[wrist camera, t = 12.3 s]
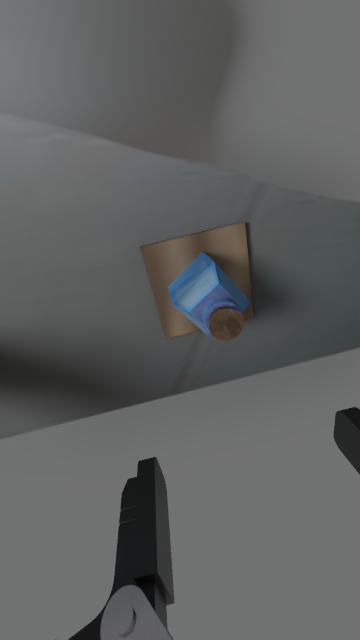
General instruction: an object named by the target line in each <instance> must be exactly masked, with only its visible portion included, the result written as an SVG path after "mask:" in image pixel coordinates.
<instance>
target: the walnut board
mask: <svg viewBox="0 0 360 640" xmlns="http://www.w3.org/2000/svg"><path fill="white" fill-rule="evenodd" d="M140 249H141V252H142V256H143V259H144V263H145V266H146V270H147V273H148V277H149V281H150V284H151V288H152V291H153V295H154V298H155V302H156V305H157V309H158V313H159V316H160V320H161V323H162V327H163V330H164V334H165V337H166V339H167V338H171V337H175V336H179V335H183V334H187V333H191V332H195V331H199V330H201V329H200V328H198V327H197V326H196V325H195V324H194V323H193V322H192V321H191V320H189V319H188V318H187V317H186V316H185V315H184V314H183V313H181V312H180V311H179V310H178V309H177V308H176V307H175V306H174V305H172V304H171V299H170V294H169V289H168V286H169V285H170V284H171V283H172V282H173V281H174V280H175V279H176V278H177V277H178V276H179V275H180V274H181V273H182V272H183V271H184V270H185V269H186V268H187V267H188V266H189V265H190V264H191V263H192V262H193V261H194V260H195V259H196V258H197V257H198V256H199V255H200V254H201V253H202V252H203V253H205V254H206V255H207V256H208V257H209V258H210V259H212V260H213V261H214V262H215V263H216V264H217V265H218V266H219V268H220V269H221V270H222V271H223V272H224V273H225V274H226V275H227V276H228V277H229V278H230V279H231V280H232V281H233V283H234V284H235V285H236V286H237V287H238V288H239V289H240V290H241V291H242V292H243V293H244V294H245V295H246V296H247V298H248V299H249V300H250V302H249V304H248V305H247V307H246V308H245V310H244V311H242V312H241V313H240V314H241V315H242V317H243V320H244V319H248V318H253V317H254V314H253V303H252V292H251V282H250V271H249V260H248V249H247V238H246V227H245V222H240V223H236V224H231V225H227V226H223V227H219V228H215V229H211V230H207V231H203V232H199V233H194V234H190V235H186V236H182V237H178V238H174V239H170V240H166V241H161V242H157V243H153V244H149V245H145V246H141V247H140Z"/></svg>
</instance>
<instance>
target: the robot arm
mask: <svg viewBox="0 0 360 640" xmlns="http://www.w3.org/2000/svg"><path fill="white" fill-rule="evenodd" d="M334 439H335V442H336V444H337V446H338V448H339V449H340V450H341V452H342V453H343V454H344V455H345V457H346V458H347V459H348V460H349V462H350V463H351V464H352V465H353V467H354V468H355V469H356V470H357V472H358V473H359V474H360V409H358V408H356V407H353V408H349V409H345V410H341V411H337V412H336V416H335V427H334ZM119 523H120V526H119V531H118V543H117V554H116V564H115V576H114V583H113V587H112V591H111V594H110V597H109V599H108V601H107V603H106V605H105V606H104V608H103V610H102V611H101V613H100V614H99V615H98V616H97V617H96V618H95V619H94V620H93V621H92V622H91V623H89V624H88V625H87V626H85V627H84V628H83V629H81V630H80V631H79V632H78V633H76V634H75V635H74V636H72V637H71V638H70V639H69V640H173V638H172V636H171V635H170V633H169V631H168V630H167V613H166V605H169V604H173V603H174V590H173V575H172V561H171V546H170V533H169V532H170V531H169V517H168V502H167V491H166V484H165V479H164V476H163V473H162V471H161V468H160V466H159V463H158V460H157V458H156V457H153V458H149V459H145V460H141V461H139V462H138V472H137V477H134V478H130V479H128V480H127V483H126V485H125V487H124V490H123V492H122V498H121V512H120V520H119Z"/></svg>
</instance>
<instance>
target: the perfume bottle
mask: <svg viewBox="0 0 360 640" xmlns="http://www.w3.org/2000/svg"><path fill="white" fill-rule="evenodd" d="M168 289H169V294H170V299H171V304H172V305H174V306H175V307H176V308H177V309H178V310H179V311H180V312H181V313H183V314H184V315H185V316H186V317H187V318H188V319H189V320H191V321H192V322H193V323H194V324H195V325H196V326H197V327H198V328H200V329H201V330H202V331H203V332H204V333H205V334H206V335H207V336H209V337H213V338H215V339H217V340H220V341H229V340H232V339H234V338H235V337H237V336H238V335H239V334H240V333H241V331H242V329H243V326H244V320H243V317H242V315H241V314H240V313H241V312H242V311H244V310H245V308H246V307H247V305H248V304H249V302H250V300H249V299H248V298H247V296H246V295H245V294H244V293H243V292H242V291H241V290H240V289H239V288H238V287H237V286H236V285H235V284H234V283H233V281H232V280H231V279H230V278H229V277H228V276H227V275H226V274H225V273H224V272H223V271H222V270H221V269H220V268H219V266H218V265H217V264H216V263H215V262H214V261H213V260H212V259H210V258H209V257H208V256H207V255H206V254H205V253H203V252H202V253H201V254H200V255H199V256H198V257H197V258H196V259H195V260H194V261H193V262H192V263H191V264H190V265H189V266H188V267H187V268H186V269H185V270H184V271H183V272H182V273H181V274H180V275H179V276H178V277H177V278H176V279H175V280H174V281H173V282H172V283H171V284H170V285H169V286H168Z"/></svg>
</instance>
